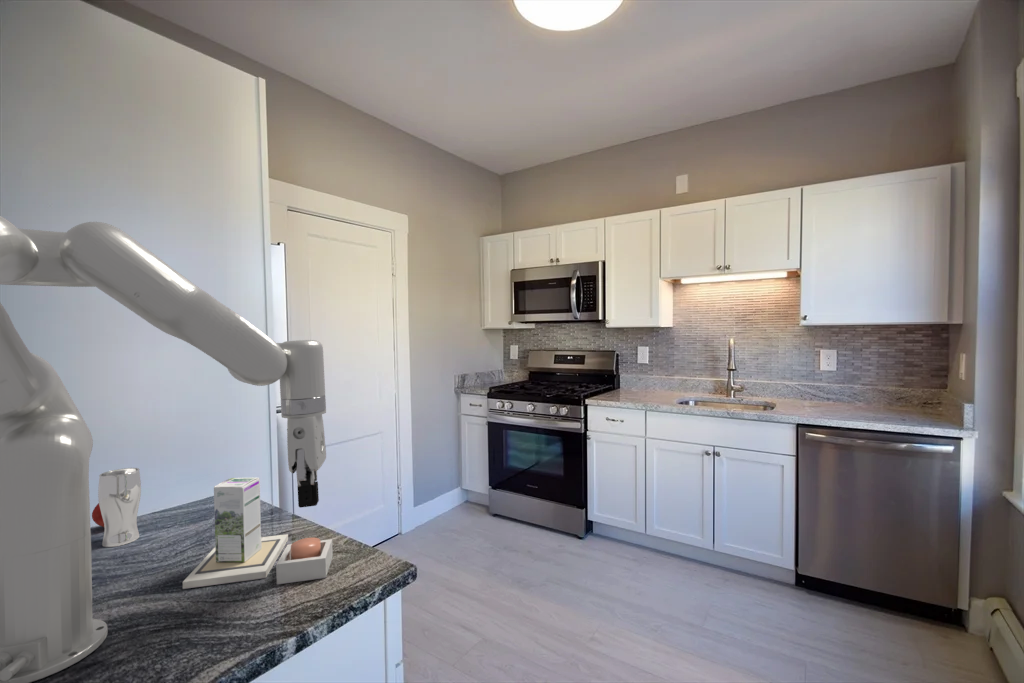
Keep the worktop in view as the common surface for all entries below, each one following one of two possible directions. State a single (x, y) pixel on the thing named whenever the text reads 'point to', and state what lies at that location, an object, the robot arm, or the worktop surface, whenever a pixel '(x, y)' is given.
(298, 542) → the button
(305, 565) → the button housing
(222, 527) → the syrup box
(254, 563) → the picture board
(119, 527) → the beer glass
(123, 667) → the worktop surface
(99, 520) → the onion
